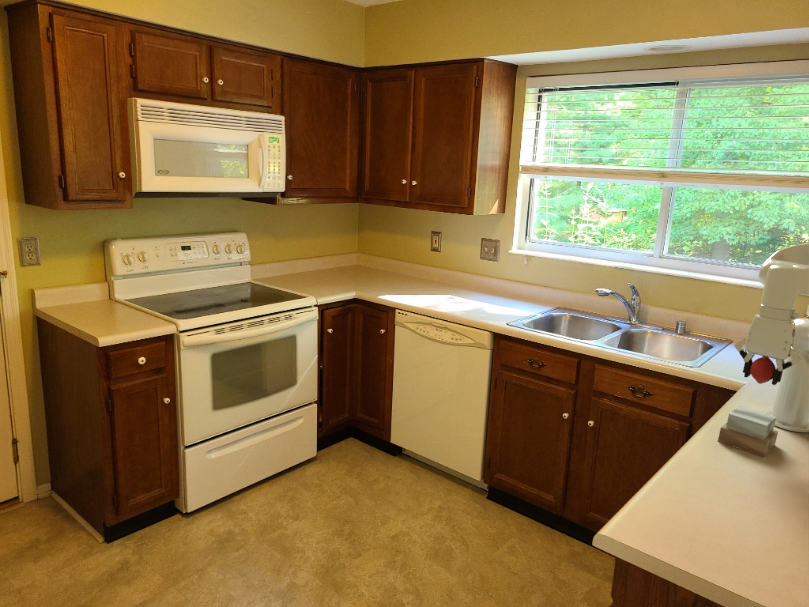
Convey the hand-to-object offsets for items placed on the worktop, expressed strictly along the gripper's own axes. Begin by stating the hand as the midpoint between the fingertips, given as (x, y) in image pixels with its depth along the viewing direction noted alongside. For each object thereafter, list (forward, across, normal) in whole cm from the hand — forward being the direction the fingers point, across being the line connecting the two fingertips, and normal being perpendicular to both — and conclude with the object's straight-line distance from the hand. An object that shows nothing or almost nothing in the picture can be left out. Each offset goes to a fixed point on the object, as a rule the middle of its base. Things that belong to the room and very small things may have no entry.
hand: (760, 379), depth 159 cm
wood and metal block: (+18, 0, 0) cm, 18 cm away
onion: (+1, 0, 0) cm, 1 cm away
